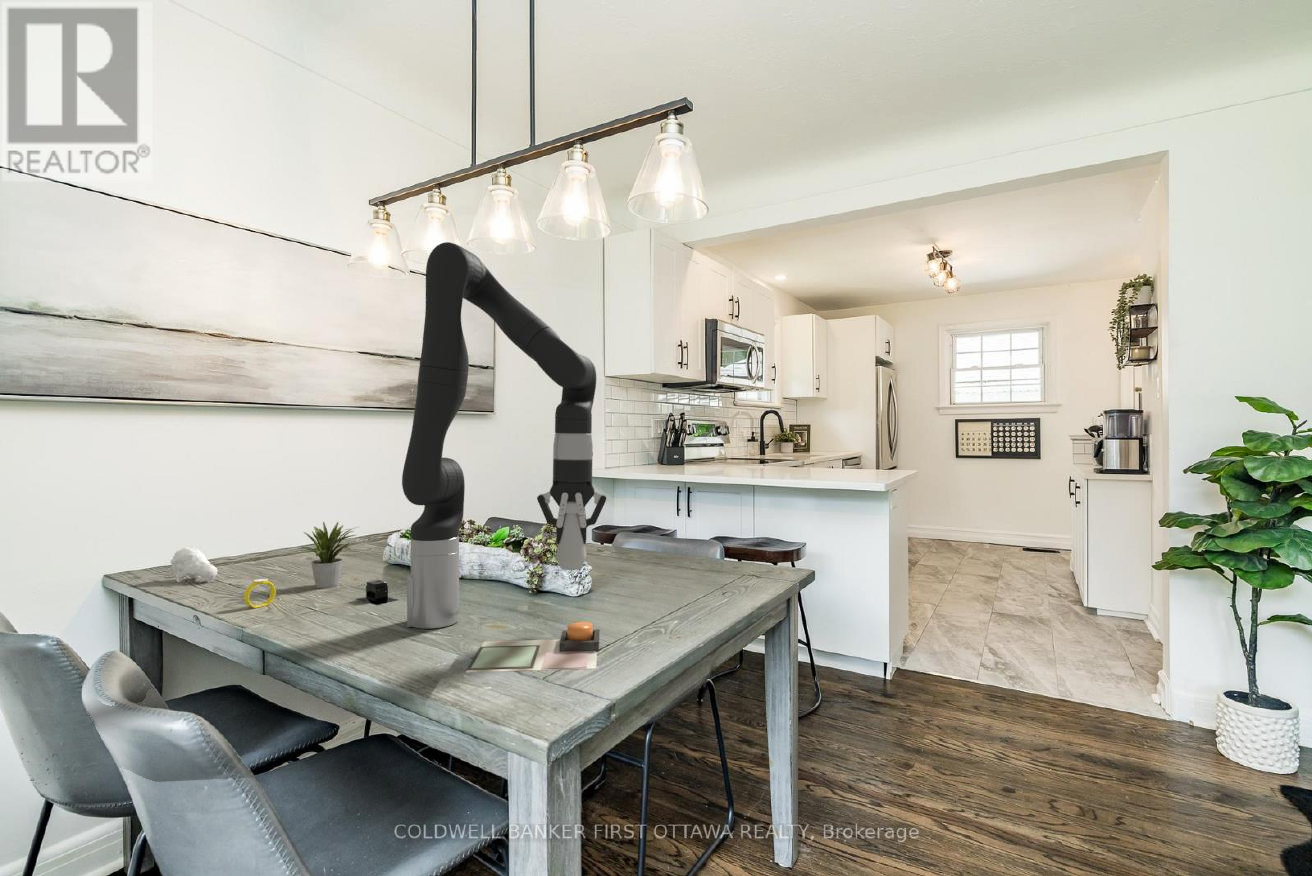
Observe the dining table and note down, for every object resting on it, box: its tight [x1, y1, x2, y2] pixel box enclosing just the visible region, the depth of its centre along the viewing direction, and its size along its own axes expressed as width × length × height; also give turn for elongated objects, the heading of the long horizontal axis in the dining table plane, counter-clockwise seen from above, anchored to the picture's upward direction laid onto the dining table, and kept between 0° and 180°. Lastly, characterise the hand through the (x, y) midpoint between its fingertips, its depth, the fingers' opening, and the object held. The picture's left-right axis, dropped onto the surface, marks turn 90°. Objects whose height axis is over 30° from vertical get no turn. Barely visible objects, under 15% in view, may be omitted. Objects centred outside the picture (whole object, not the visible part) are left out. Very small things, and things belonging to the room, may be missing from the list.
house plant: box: [298, 521, 359, 589], centre depth 150 cm, size 14×14×16 cm
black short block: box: [355, 579, 399, 606], centre depth 139 cm, size 12×7×5 cm, turn 56°
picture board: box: [465, 629, 600, 674], centre depth 100 cm, size 22×16×3 cm
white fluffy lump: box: [170, 546, 218, 584], centre depth 156 cm, size 6×8×12 cm
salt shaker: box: [555, 502, 587, 571], centre depth 116 cm, size 6×6×13 cm
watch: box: [243, 578, 277, 609], centre depth 133 cm, size 6×3×6 cm, turn 153°
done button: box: [566, 621, 594, 641], centre depth 105 cm, size 4×4×2 cm
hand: (571, 546), depth 116 cm, fingers closed on salt shaker, 3 cm apart
